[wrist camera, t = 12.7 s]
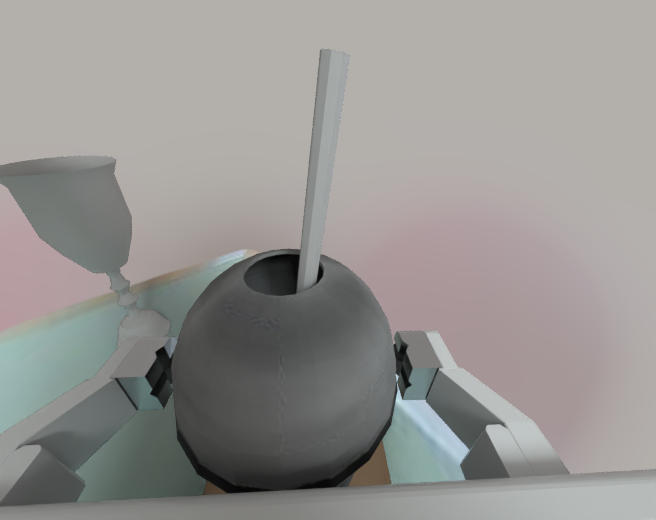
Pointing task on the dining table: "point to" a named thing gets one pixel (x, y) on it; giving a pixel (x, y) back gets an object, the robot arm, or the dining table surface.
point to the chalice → (83, 223)
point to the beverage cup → (287, 351)
